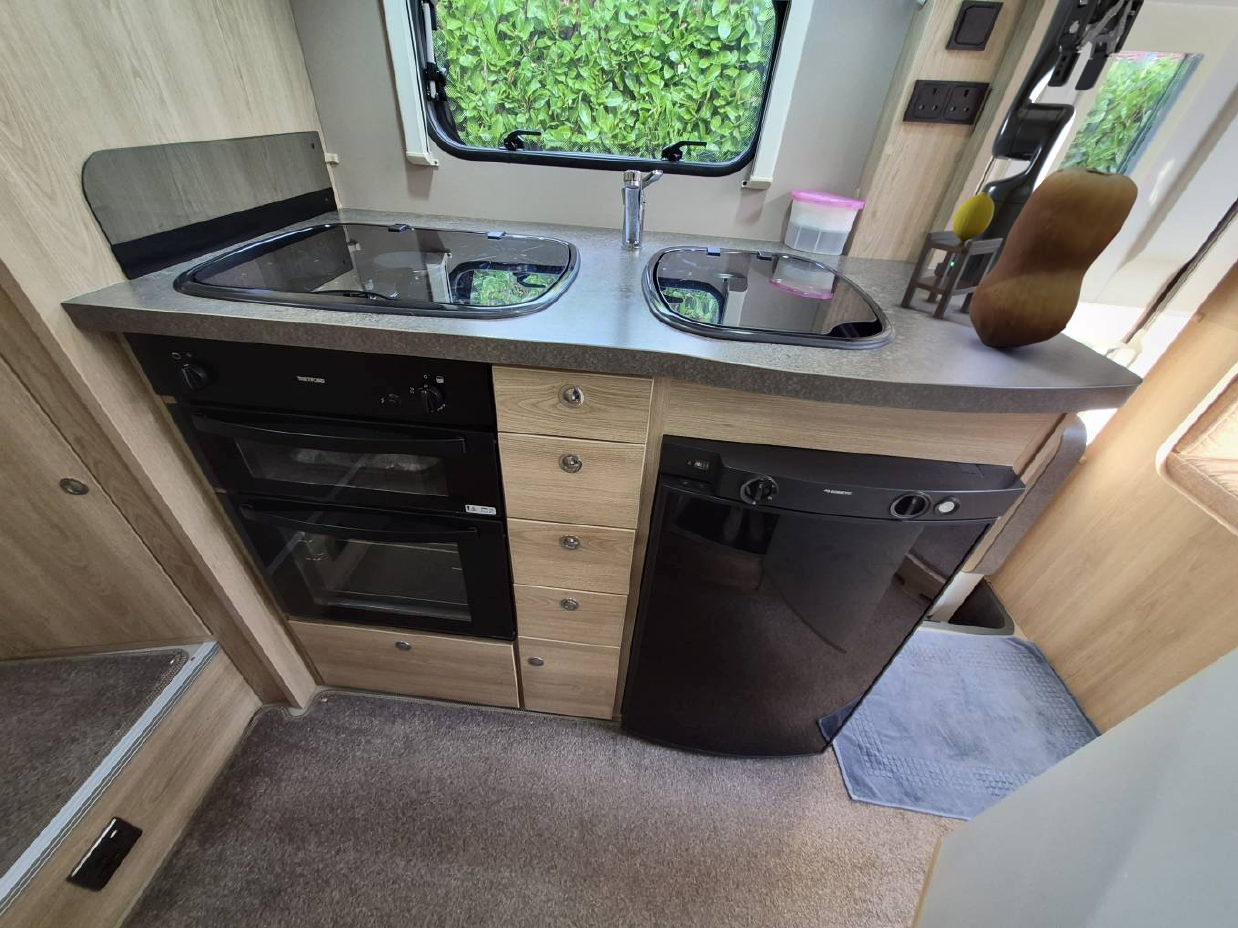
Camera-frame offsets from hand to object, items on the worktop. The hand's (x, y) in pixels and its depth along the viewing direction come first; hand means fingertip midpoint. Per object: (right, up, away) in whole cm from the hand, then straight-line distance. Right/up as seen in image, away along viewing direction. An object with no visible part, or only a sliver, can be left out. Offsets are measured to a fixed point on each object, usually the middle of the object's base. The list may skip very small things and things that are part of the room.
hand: (1069, 88), depth 72 cm
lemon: (-5, -16, +16) cm, 23 cm away
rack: (-5, -25, +23) cm, 34 cm away
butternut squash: (-4, -36, +9) cm, 37 cm away
